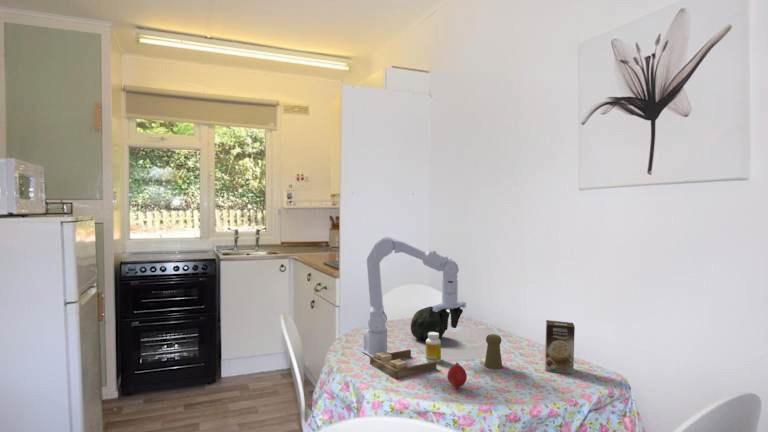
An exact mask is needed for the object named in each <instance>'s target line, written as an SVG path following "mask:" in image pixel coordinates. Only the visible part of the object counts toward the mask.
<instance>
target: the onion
mask: <svg viewBox="0 0 768 432" xmlns="http://www.w3.org/2000/svg"><path fill="white" fill-rule="evenodd" d="M467 375H468V374H467V372H466V370H465V369H464V368H463V366H461V365H460V363H459V362H455V364H454V365H452V366H451V367H450V368H449V369H448V371H447V376H446V377H447V380H448V382H449V384H450V385H451V386H452V387H454V388H455V389H460V388H461V387H462V386H463V385H465V384H466V382H467V379H468V377H467Z"/></svg>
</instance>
